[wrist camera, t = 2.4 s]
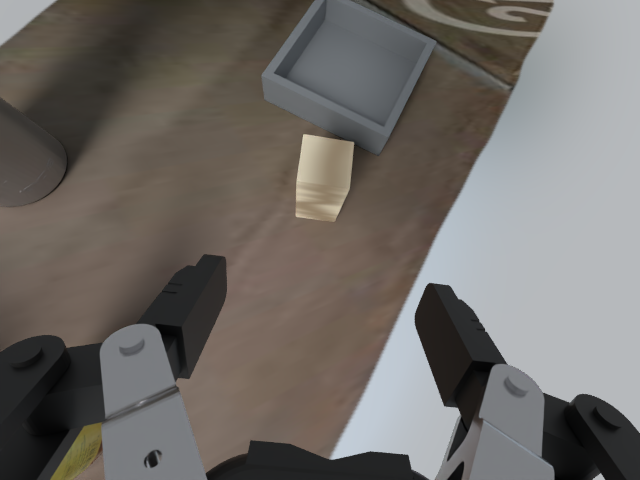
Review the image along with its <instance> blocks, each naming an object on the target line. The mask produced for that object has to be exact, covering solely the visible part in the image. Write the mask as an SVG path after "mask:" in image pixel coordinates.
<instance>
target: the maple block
mask: <svg viewBox="0 0 640 480" xmlns="http://www.w3.org/2000/svg"><path fill="white" fill-rule="evenodd" d="M353 149H354V142H350V141H344V140H337V139H331V138H324V137H318V136H312V135H305V134H304V135H303V141H302V148H301V155H300V162H299V168H298V175H297V186H296V217H302V218H309V219H317V220H324V221H331V222H335V220H336V218H337V216H338V214H339V211H340V209H341V207H342V205H343V203H344V200H345V198H346V196H347V194H348V191H349V189H350V181H351V170H352V160H353Z"/></svg>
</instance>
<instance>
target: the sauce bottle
mask: <svg viewBox="0 0 640 480" xmlns="http://www.w3.org/2000/svg"><path fill="white" fill-rule="evenodd" d="M101 425H102V422H101V423H96V424H92V425H87V426H84V427H83V429H82V430H81V432H80V434H79V435H78V437H77V438H76V440H75V441H74V443H73V445H72V446H71V448H70V449H69V451H68V452H67V454H66V456H65V457H64V459H63V460H62V462H61V463H60V465H59V467H58V468H57V470H56V471H55V473H54V474H53V476H52V478H51V479H50V480H73V479H74V478H75V477H77V476H78V475H79V474H80V473H82V472H83V471H84V470H85V469H86V468H87V467H88V466H89V465H90V464H92V463H93V462H94V461H95V460H96V459H97V458H98V457H99V456H100V455H101V453H102V451H103V446H102V432H101Z"/></svg>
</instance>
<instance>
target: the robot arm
mask: <svg viewBox="0 0 640 480" xmlns="http://www.w3.org/2000/svg"><path fill="white" fill-rule="evenodd" d="M66 165H67V156H66V152H65V150H64V147H63V146H62V145H61V143H60V142H59V141H58V140H57V139H56V138H54V137H53V136H52V135H51V134H49V133H48V132H47V131H45V130H44V129H42V128H41V127H40V126H38V125H37V124H36V123H34V122H33V121H32V120H30V119H29V118H28V117H26V116H25V115H24V114H22V113H21V112H20V111H18V110H17V109H16V108H14V107H13V106H12V105H10V104H9V103H8V102H6V101H5V100H3V99H2V98H1V97H0V206H6V207H15V206H23V205H26V204H30V203H33V202H35V201H37V200H39V199H41V198H43V197H44V196H46V195H47V194H49V193H50V192H51V191H52V190H53V189H54V188H55V187H56V186H57V185H58V184H59V182H60V181H61V179H62V178H63V175H64V173H65V171H66ZM226 292H227V276H226V258H225V257H223V256H215V255H207V254H204V255H203V256H202V258H201V259H200V260H199V262H198V263H197V265H196V266H186V267H185V268H183V269H181V270H180V271H178V272H177V273H175V275H174V276H173V277H172V279H171V280H170V281H169V282H168V285H166V286H165V288H164V289H163V290H162V293H160V294H159V295H158V297H157V298H156V299H155V300H154V302H153V303H152V304H151V306H150V307H149V308H148V309H147V311H146V312H145V313H144V315H143V316H142V317H141V318H140V320H139V321H138V322H137V323H136V324H135V325H130V326H127V327H124V328H122V329H120V330H118V331H116V332H114V333H113V334H112V335H110V336H109V337H108V338H107V339H106V340H105V341H104V342H103V343H98V344H91V345H84V346H77V347H70V348H66V346H65V344H64V342H63V340H62V339H61V338H59V337H57V336H52V335H42V336H36V337H31V338H28V339H25V340H22V341H20V342H17V343H15V344H13V345H11V346H10V347H8V348H6V349H5V350H3V351H2V352H0V480H50V479H51V478H52V476H53V474H54V473H55V471H56V470H57V468H58V467H59V465H60V463H61V462H62V460H63V459H64V457H65V456H66V454H67V452H68V451H69V449H70V448H71V446H72V445H73V443H74V441H75V440H76V438H77V437H78V435H79V434H80V432H81V430H82V429H83V427H84V426H87V425H92V424H96V423H101V422H102V425H101V432H102V446H103V459H104V471H105V480H429V479H427V478H426V477H424V476H423V475H421V474H420V473H418V472H416V471H414V470H411V465H410V461H409V456H408V455H403V454H392V453H382V452H371V451H370V452H366V453H362V454H357V455H353V456H349V457H344V458H340V459H335V460H329V459H326V458H323V457H321V456H318V455H316V454H314V453H311V452H309V451H306V450H304V449H301V448H299V447H296V446H294V445H291V444H285V443H274V442H263V441H252V440H251V441H250V446H249V450H248V453H246V454H242V455H238V456H236V457H233V458H230V459H228V460H226V461H224V462H222V463H220V464H219V465H217V466H216V467H214V468H213V469H211V470H210V471H208V472H207V473H206V474H205V471H204V467H203V464H202V461H201V458H200V455H199V451H198V448H197V445H196V442H195V439H194V435H193V432H192V429H191V426H190V422H189V419H188V416H187V413H186V410H185V406H184V403H183V400H182V397H181V394H180V391H179V388H178V387H177V386H176V384H175V382H176V380H177V378H185V379H189V378H190V376H191V374H192V372H193V370H194V368H195V365H196V363H197V361H198V359H199V357H200V354H201V352H202V350H203V348H204V346H205V344H206V341H207V339H208V337H209V335H210V333H211V330H212V328H213V326H214V324H215V322H216V320H217V317H218V315H219V313H220V311H221V309H222V306H223V304H224V302H225V298H226ZM415 326H416V329H417V332H418V335H419V338H420V340H421V343H422V346H423V349H424V351H425V354H426V357H427V360H428V363H429V365H430V368H431V371H432V374H433V376H434V379H435V382H436V385H437V387H438V390H439V393H440V395H441V399H442V401H443V404H444V406H447V407H456V408H458V409H459V411H460V416H459V417H458V419H457V421H456V424H455V427H454V430H453V433H452V436H451V439H450V442H449V445H448V448H447V451H446V453H445V456H444V460H443V462H442V466H441V468H440V470H439V472H438V474H437V476H436V478H435V480H593V478H595V477H596V476H597V475H599V474H600V473H601V474H602V475H603V477H604V478H605V480H640V433H639V432H638V431H637V429H636V428H635V427H634V426H633V425H632V423H631V422H630V421H629V420H628V419H627V418H626V417H625V416H624V415H623V414H622V413H620V412H619V411H618V410H617V409H615V408H614V407H613V406H611V405H610V404H608V403H606V402H605V401H603V400H601V399H599V398H597V397H595V396H592V395H588V394H580V395H577V396H576V397H575V398H574V399H573V400H572V402H570V403H569V402H566V401H564V400H561V399H558V398H556V397H553V396H550V395H548V394H545V393H543V392H542V391H541V389H540V388H539V386H538V385H537V384H536V382H535V381H533V379H532V378H530V377H529V376H528V375H527V374H525V373H524V372H522V371H521V370H519V369H517V368H515V367H513V366H510V365H508V364H507V363H506V361H505V360H504V358H503V357H502V355H501V353H500V352H499V350H498V349H497V347H496V346H495V344H494V343H493V341H492V339H491V338H490V336H489V335H488V333H487V332H485V328H484V327H483V325H482V324H481V323H480V322H479V319H478V318H477V316H476V314H475V313H474V311H473V310H472V309H471V308H470V307H469V306H468V305H467V304H466V303H465V302H464V301H462V300H459V299H458V298H457V296H456V295H455V293H454V291H453V290H452V288H451V287H450V286H449V285H441V284H434V283H429V284H428V285H427V286H426V288H425V290H424V293H423V295H422V298H421V300H420V302H419V305H418V307H417V310H416V313H415Z"/></svg>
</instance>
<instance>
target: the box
mask: <svg viewBox="0 0 640 480" xmlns="http://www.w3.org/2000/svg"><path fill="white" fill-rule="evenodd" d="M436 42H437V41H435V40H433V39H431V38H429V37H426V36H424V35H422V34H420V33H418V32H416V31H414V30H412V29H410V28H407V27H405V26H403V25H401V24H399V23H397V22H395V21H393V20H391V19H389V18H386V17H384V16H382V15H380V14H378V13H376V12H374V11H372V10H370V9H368V8H365V7H363V6H361V5H359V4H357V3H355V2H353V1H351V0H315V1H314V2H313V4H312V5H311V6H310V8H309V9H308V11H307V12H306V13H305V15H304V16H303V18H302V19H301V20H300V22H299V23H298V25H297V26H296V28H295V29H294V30H293V32H292V33H291V35H290V36H289V37H288V39H287V40H286V42H285V43H284V44H283V46H282V47H281V49H280V50H279V51H278V53H277V54H276V56H275V57H274V58H273V60H272V61H271V63H270V64H269V65H268V67H267V68H266V70H265V71H264V73H263V74H262V75H261V76H262V83H263V91H264V98H265V100H266V101H268V102H270V103H272V104H274V105H276V106H278V107H280V108H282V109H284V110H286V111H288V112H290V113H292V114H294V115H296V116H298V117H300V118H302V119H304V120H307V121H309V122H311V123H313V124H315V125H317V126H319V127H321V128H323V129H325V130H327V131H329V132H331V133H333V134H335V135H337V136H339V137H341V138H343V139H345V140H347V141H350V142H354V144H355V145H357V146H359V147H361V148H363V149H365V150H367V151H369V152H371V153H373V154H375V155H377V156H379V154H380V153H381V151H382V149H383V147H384V145H385V143H386V142H387V140H388V138H389V136H390V134H391V132H392V130H393V128H394V126H395V124H396V122H397V120H398V118H399V116H400V114H401V112H402V110H403V108H404V106H405V104H406V102H407V100H408V98H409V96H410V94H411V92H412V90H413V88H414V86H415V84H416V82H417V80H418V78H419V76H420V74H421V72H422V70H423V68H424V66H425V64H426V62H427V60H428V58H429V56H430V54H431V52H432V50H433V48H434V46H435V44H436Z"/></svg>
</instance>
